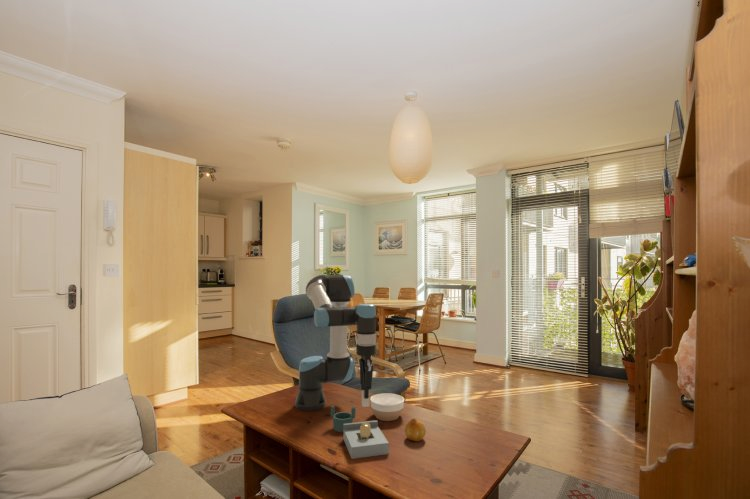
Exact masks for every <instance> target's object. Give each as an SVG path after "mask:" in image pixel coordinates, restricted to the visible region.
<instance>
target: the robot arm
mask: <svg viewBox="0 0 750 499" xmlns="http://www.w3.org/2000/svg"><path fill="white" fill-rule="evenodd" d="M305 294H306V297H307V298H308V300H310V301H311V302H312V304H313V307H314V312H313V321H314V322H313V323H314V325H315V327H317V328H318V327H319V328H321V327H322V328H326V327H329V330H330V333H329V352H328V353H327V354H326V358H324V357H323V356H322V355H311V356H308V357H305V358H303V359H301V360H300V361H299V366H298V392H297V394H296V398H295V401H294V407H295V409H297V410H298V411H303V412H312V411H318V410H321V409H323V408H325V407H326V404H327V400H326V399H327V398H326V396H325V393H324V389H323V384H329V383H339V382H340V383H344V382H347V381H349V380H351V378H352V376H353V372H354V360H353V357H352V356H350V353H349V352H348V348H347V347H348V327H350V326H356V335H355V336H354V338H355V339H356V346H355V351H356V352H355V353H356V355H357V356H360V358H358V362H359V363H358V364H359V378H360V379H359V383H360V385H361V386H360V387H361V389H360V390H361V407H362V408H366V407H368V408H369V407H370V392H371V391H370V390H371V389H372V382H373V371H374V366H373V365H372V364H373V361H372V360H373V359H372V358H371V357H372V356H375V355H376V352H377V350H376V349H377V348H376V342H377V341H376V340H377V338H376V337H377V331H376V330H377V329H376V327H377V326H376V323H377V322H376V321H377V320H376V319H377V309H376V305H375V304H372V303H371V304H370V303H358V304H357V305H354V306H348V305H349V303H351V301H352V300H351V299H352V298H354V297H355V285H354V281H353V278H352V277H351V276H350V275H348V274H320V275H316V276H314V277H313V278H311V279H310V280H309V281H308V282H307V284H306V287H305Z"/></svg>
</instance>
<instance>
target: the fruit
mask: <svg viewBox="0 0 750 499" xmlns="http://www.w3.org/2000/svg"><path fill="white" fill-rule="evenodd" d="M426 432H427V431H426V427H425V424H423V422H421V420H419V419H416V418H412V419H410V420H409V421H408V422H407V423H406V424H405V427H404V434H405V437H407V439H409V440H410V441H413V442H421V441H422V440H423V439H424V438H425V436H426Z"/></svg>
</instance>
